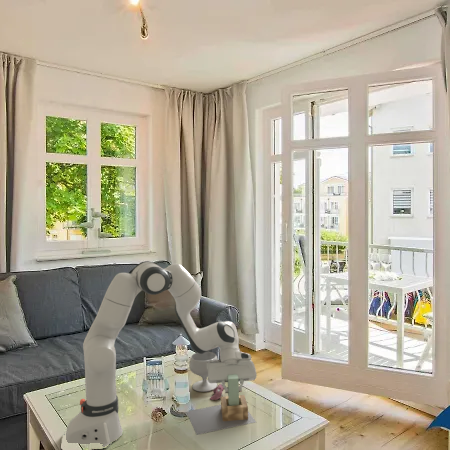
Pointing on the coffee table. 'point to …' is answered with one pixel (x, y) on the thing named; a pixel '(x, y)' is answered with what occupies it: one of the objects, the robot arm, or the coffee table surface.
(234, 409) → the square hole block
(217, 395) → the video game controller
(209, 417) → the base board
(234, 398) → the bracket bar
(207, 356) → the chalice
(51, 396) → the coffee table surface
